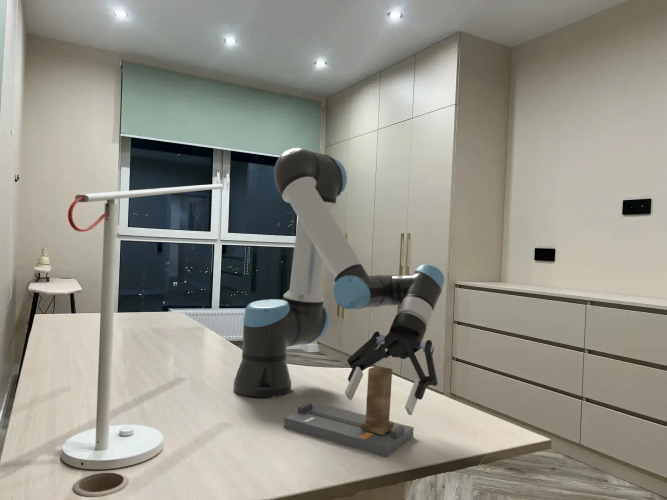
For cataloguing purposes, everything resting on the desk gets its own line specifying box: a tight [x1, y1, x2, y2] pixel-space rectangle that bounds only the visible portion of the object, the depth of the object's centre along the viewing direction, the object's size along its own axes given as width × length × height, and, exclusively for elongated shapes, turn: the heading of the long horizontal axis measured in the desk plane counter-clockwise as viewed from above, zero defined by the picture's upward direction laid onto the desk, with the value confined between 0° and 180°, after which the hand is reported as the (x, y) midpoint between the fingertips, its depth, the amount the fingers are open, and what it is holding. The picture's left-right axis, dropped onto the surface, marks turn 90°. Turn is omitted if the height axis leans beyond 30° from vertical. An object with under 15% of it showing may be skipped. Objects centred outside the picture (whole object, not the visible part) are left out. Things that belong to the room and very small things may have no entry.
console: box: [283, 402, 415, 458], centre depth 107 cm, size 24×13×3 cm, turn 59°
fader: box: [360, 365, 394, 435], centre depth 103 cm, size 5×5×12 cm
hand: (377, 403), depth 103 cm, fingers open, 13 cm apart
